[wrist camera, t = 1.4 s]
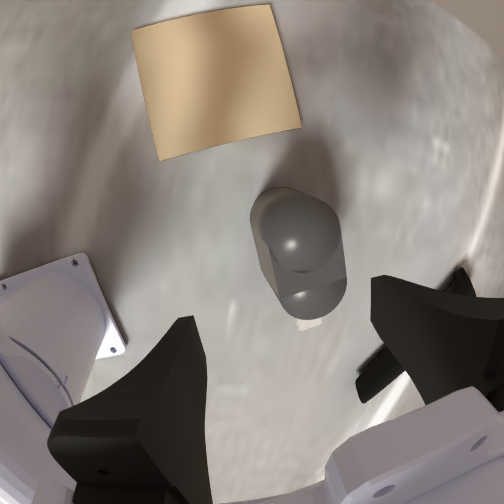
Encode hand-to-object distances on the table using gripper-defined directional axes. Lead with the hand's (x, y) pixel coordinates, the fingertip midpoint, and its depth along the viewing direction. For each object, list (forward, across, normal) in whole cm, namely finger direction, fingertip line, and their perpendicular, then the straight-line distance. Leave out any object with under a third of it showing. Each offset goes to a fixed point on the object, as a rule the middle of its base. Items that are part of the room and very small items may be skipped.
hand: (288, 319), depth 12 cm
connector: (+10, -2, 0) cm, 10 cm away
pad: (+10, +1, -11) cm, 15 cm away
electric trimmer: (+11, -14, +12) cm, 21 cm away
